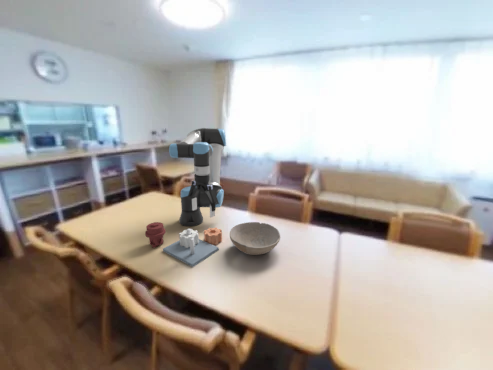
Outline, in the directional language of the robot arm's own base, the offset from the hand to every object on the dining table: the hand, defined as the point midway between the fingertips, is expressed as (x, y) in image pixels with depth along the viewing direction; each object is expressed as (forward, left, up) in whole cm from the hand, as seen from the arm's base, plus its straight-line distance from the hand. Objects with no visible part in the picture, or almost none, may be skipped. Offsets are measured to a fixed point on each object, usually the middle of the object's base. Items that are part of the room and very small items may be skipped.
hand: (203, 213), depth 124 cm
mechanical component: (+16, -19, -18) cm, 31 cm away
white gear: (+6, -5, -16) cm, 18 cm away
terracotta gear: (-5, +2, -18) cm, 19 cm away
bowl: (-11, +26, -18) cm, 33 cm away
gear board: (+9, 0, -18) cm, 20 cm away
